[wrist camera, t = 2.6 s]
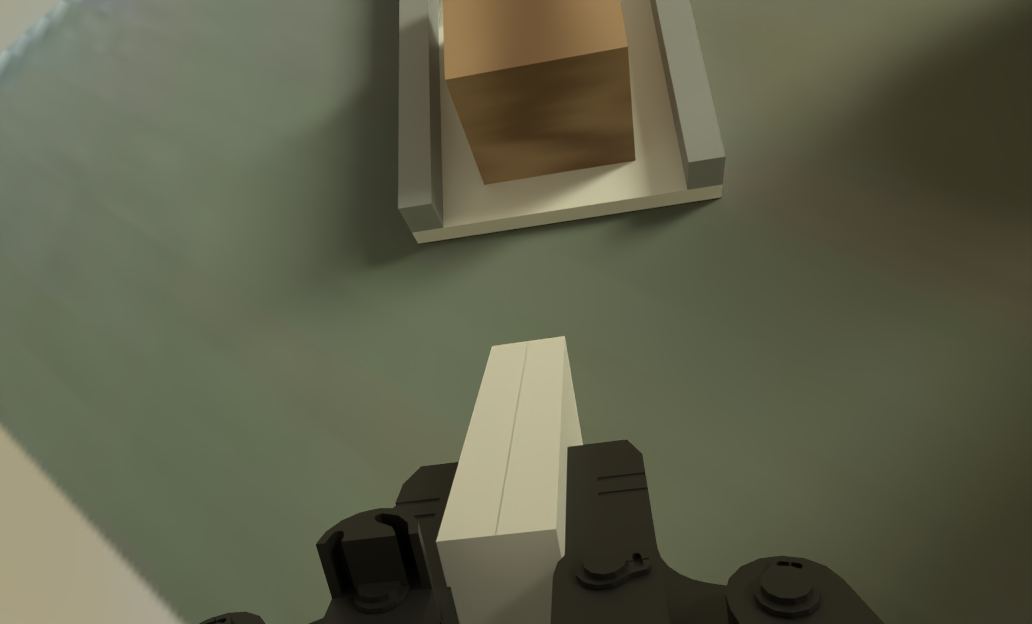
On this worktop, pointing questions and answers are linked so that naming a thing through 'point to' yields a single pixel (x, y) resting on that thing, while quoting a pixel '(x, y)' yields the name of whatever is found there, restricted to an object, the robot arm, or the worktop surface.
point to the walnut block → (539, 84)
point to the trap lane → (567, 195)
